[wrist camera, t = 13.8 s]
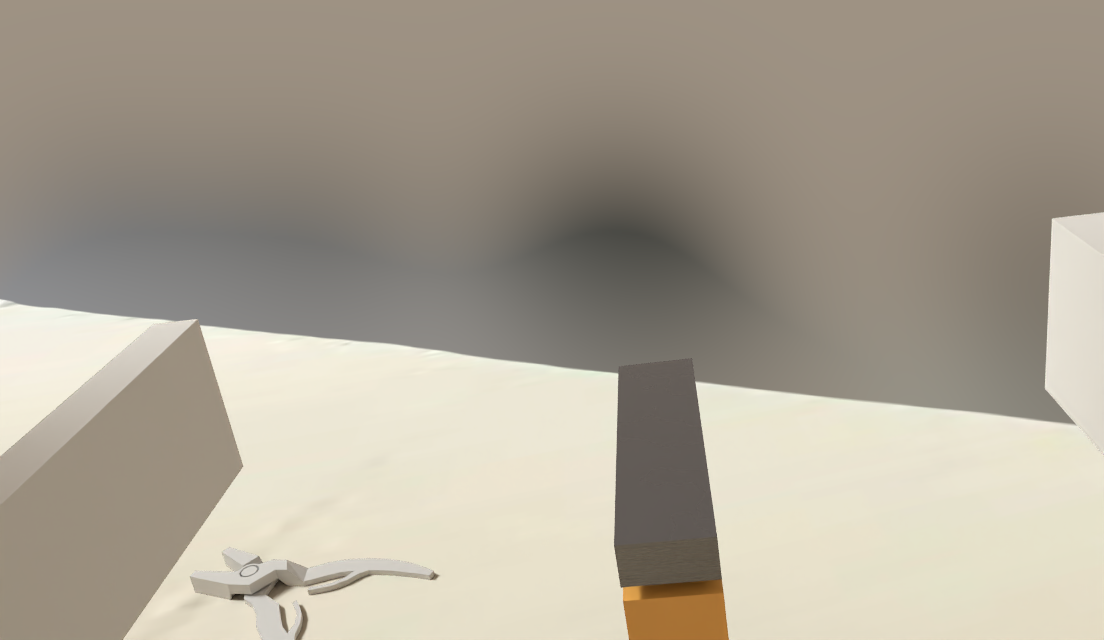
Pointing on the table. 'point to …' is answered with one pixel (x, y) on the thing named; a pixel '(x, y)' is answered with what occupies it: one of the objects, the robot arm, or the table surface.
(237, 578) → the pliers
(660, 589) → the handle
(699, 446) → the hook
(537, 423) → the table surface
